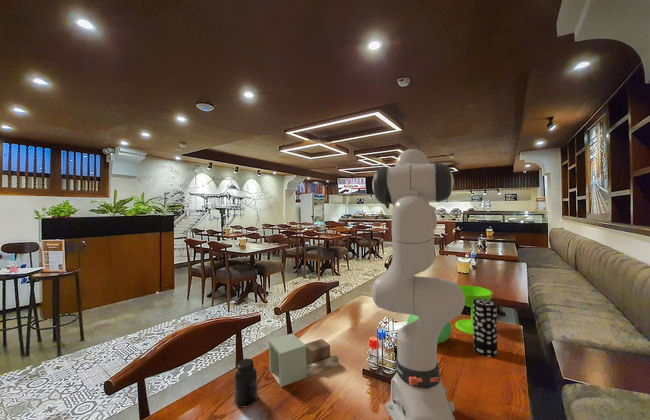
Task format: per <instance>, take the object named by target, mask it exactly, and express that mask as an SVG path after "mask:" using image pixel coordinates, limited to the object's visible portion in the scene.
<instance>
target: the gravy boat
mask: <svg viewBox="0 0 650 420" xmlns="http://www.w3.org/2000/svg"><path fill="white" fill-rule="evenodd" d="M418 318H419V317H418V316H416V315H411V314H409V316H408V318H407V322H406V324H409V323H412V322H414V321H416V320H417V319H418ZM451 335H452V323H451V321H449V322H448V323H447V324H446V325H445V326H444V327H443V329H442V330H441V332H440V334H439V337H438V342H437V345H438V344H442V343H445V342H446V341H447V340H448V339H449V338H450V336H451Z"/></svg>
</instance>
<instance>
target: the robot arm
mask: <svg viewBox="0 0 650 420" xmlns="http://www.w3.org/2000/svg"><path fill="white" fill-rule="evenodd" d="M394 165H395V166H391V167H388V166H386V167H385V166H384V167H382V168H378V169H377V170H376V171H375V172H374V175H373V178H372V182H371V183H372V186H371V187H372V192H373V194H374V196H375V199H376V200H377V201H378V202H379V203H381V204H382V205H384V206H385V208H386V209H389V210H390V204H391V205H392V214H391V240H392V241H391V243H392V257H391V262H390V265H389V267H388V269H386V271H385V272H383V273H382V274H381V275H379V276H377V278H376V279H375V280H374V282H373V283H372V286H371V297H372V300H373V302H374V304H375V306H376V307H377V308H379V309H381V310H385V311H387V312H391V313H397V314H406V315H410V314H411V315H416V316H418V317H419V318H418V319H417V320H416V321H414V322H412V323H409V324H407V323H406V324H405V325H403V326H401V327H400V329H399V330H398V331H397V335H396V351H397V354H396V357H395V371H396V372H395V373H394V375H393V377H392V378H391V381H390V382H391V383H390V384H391V385H390V386H391V387H390V400H388V401H387V402H386V404H385V410H386V412H387V413H388V415H389V417H390V416H391V417H390V418H391V419H393V420H456V418H455V416H454V412H455V404H454V401H448V399H447V395H448V389H447V388H446V387H444V385H443V383H442V378H441V374H440V367H439V362H438V357H437V356H438V344H437V342H438V337H439V334H440V332H441V330H442V329H443V327H444V326H445V325H446V324H447V323H448V322H449V321H450V322H451V321H452V320H454V319H455V318H456V319H457V318H458V317H460V315H461V314H462V312H463V310H464V309H465V297H464V294H463V291H462V289H461V288H460V286H461V285H459V284H458V283H457V282H455V281H452V280H448V279H444V278H441V277H440V278H439V277H431V276H416V275H417V274H421V273H423V272H425V271H426V270H428V269H429V268H430V267H431V266H432V265H433V263H434V262H435V258H436V251H435V250H436V249H435V230H436V229H437V227H438V226H437V225H438V216H437V214H436V212H437V208H436V207H435V206H433V205H431V204H430V202H434V201H435V202H440V201H445V200H448V199H449V198H450V196H451V195H452V191H453V189H454V185H455V179H454V175H453V173H452V171H451V168H450V167H449V166H447V165H446V164H444V163H440V162H437V161H434V162H431V163H429V160H428V157H427V156H426V155H425V153H424V152H423V151H421V150H420V149H418V148H417V149H416V148H409V149H405V150H404V151H402V152H401V153H400V154H399V155H398V157H397V158H396V162H395V164H394Z"/></svg>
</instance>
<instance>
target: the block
mask: <svg viewBox="0 0 650 420" xmlns="http://www.w3.org/2000/svg"><path fill="white" fill-rule="evenodd" d="M304 344H305V345H306V365H307V366H308V365H310V364H313V363H316V362H319V361H321V360H324V359H327V358H330V357H331V344H329V343H328V342H327V341H326V340H325V339H323V338H319V339H317V340H313V341H310V342H307V343H304Z"/></svg>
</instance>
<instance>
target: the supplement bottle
mask: <svg viewBox="0 0 650 420" xmlns="http://www.w3.org/2000/svg"><path fill="white" fill-rule="evenodd" d="M236 368H237V369H236V372H235V373H234V380H233V381H234V403H235V404H236V406H238V405H239V406H238V407H240V406H247V407H249V406H248V405H250V406H251V404H252V403H253V404H254V403H255V402H256V401H257V400H258V371H257V368H255V367H254V360H253V359H252V358H243V359H240V360H239V361H238V363H237V367H236ZM253 404H252V405H253Z"/></svg>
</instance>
